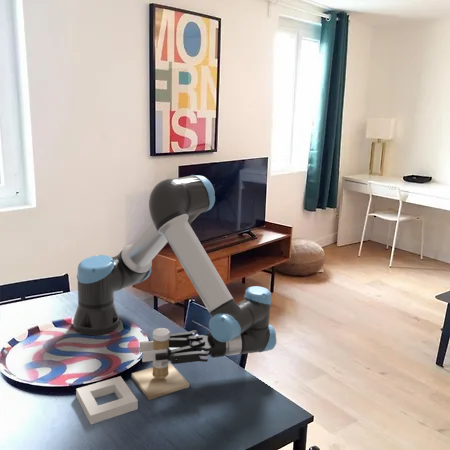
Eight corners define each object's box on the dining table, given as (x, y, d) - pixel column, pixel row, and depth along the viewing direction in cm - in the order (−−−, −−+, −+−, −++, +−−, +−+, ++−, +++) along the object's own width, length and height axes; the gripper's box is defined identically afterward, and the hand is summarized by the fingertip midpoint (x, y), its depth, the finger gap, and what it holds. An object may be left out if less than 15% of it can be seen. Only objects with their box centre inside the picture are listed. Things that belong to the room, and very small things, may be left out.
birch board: (131, 376, 130) (131, 373, 130) (169, 365, 137) (169, 362, 136) (149, 399, 121) (149, 396, 120) (189, 386, 127) (189, 383, 127)
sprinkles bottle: (165, 368, 131) (166, 326, 128) (170, 377, 127) (172, 333, 124) (149, 372, 129) (150, 328, 126) (154, 381, 125) (155, 336, 122)
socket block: (76, 397, 120) (76, 388, 119) (120, 384, 126) (120, 376, 126) (90, 424, 110) (90, 415, 110) (137, 409, 117) (137, 400, 116)
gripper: (232, 371, 125) (145, 382, 117) (213, 339, 141) (136, 348, 133) (234, 346, 123) (146, 356, 115) (215, 317, 139) (136, 324, 131)
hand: (141, 351), depth 124 cm, fingers closed on sprinkles bottle, 4 cm apart
